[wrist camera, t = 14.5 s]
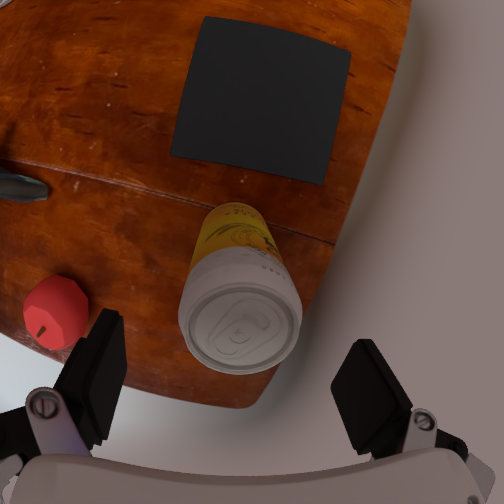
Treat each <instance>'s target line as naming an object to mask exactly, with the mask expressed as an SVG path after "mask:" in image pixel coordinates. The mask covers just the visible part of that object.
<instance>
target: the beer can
mask: <svg viewBox="0 0 504 504" xmlns="http://www.w3.org/2000/svg"><path fill="white" fill-rule="evenodd" d="M178 318H179V325H180V329H181V331H182V334H183V335H184V337H185V341H186V344H187V346H188V348H189V350H190V351H191V353H192V354H193V355H194V356H195V357H196V359H198V360H199V361H200V362H201V363H203V364H204V365H206V366H208V367H209V368H211V369H214V370H216V371H220V372H223V373H228V374H252V373H256V372H260V371H263V370H266V369H269V368H271V367H273V366H274V365H276V364H278V363H279V362H280V361H282V360H283V359H284V358H285V357H286V356H287V355H288V354H289V353H290V352H291V351H292V349H293V347H294V346H295V344H296V342H297V339H298V335H299V328H300V325H301V321H302V305H301V301H300V298H299V295H298V293H297V291H296V289H295V286H294V284H293V282H292V280H291V277H290V275H289V273H288V271H287V269H286V266H285V264H284V262H283V260H282V257H281V255H280V253H279V251H278V249H277V246H276V244H275V242H274V240H273V238H272V236H271V233H270V231H269V229H268V227H267V225H266V223H265V220H264V219H263V217H262V216H261V214H260V213H259V212H258V211H257V210H255V209H254V208H253V207H251V206H249V205H246V204H243V203H238V202H231V203H226V204H222V205H220V206H218V207H216V208H215V209H213V210H212V211H211V212H210V213H209V214H208V215H207V216H206V218H205V220H204V222H203V224H202V227H201V230H200V234H199V237H198V240H197V244H196V247H195V251H194V254H193V258H192V261H191V265H190V268H189V272H188V276H187V279H186V283H185V287H184V290H183V294H182V298H181V302H180V306H179V313H178Z"/></svg>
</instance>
